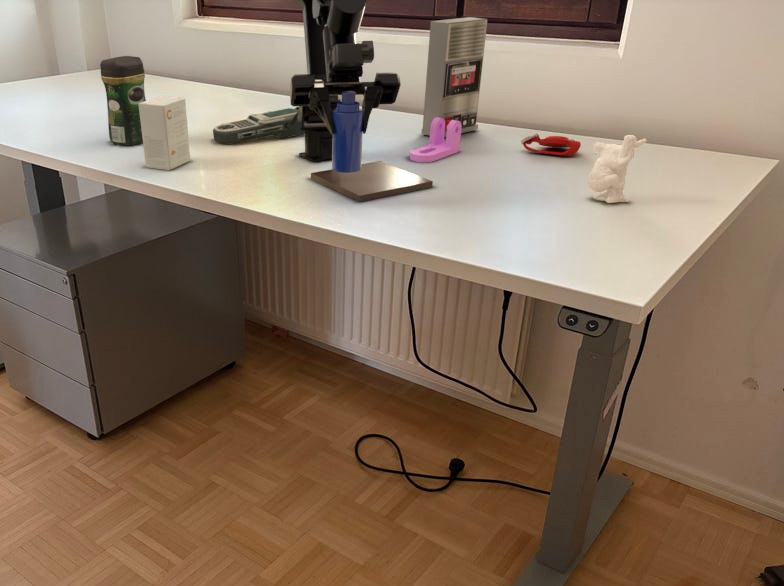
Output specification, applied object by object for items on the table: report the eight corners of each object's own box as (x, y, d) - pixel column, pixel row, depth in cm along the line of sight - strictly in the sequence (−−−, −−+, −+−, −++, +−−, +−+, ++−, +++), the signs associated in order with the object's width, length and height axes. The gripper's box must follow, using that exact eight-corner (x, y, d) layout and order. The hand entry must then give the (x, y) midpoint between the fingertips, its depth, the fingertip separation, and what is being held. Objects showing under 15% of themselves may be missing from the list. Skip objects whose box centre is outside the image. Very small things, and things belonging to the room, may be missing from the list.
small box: (166, 157, 161) (160, 95, 155) (191, 161, 159) (186, 97, 153) (144, 167, 155) (137, 102, 148) (170, 170, 153) (164, 105, 146)
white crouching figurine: (638, 200, 135) (653, 133, 129) (623, 210, 131) (639, 140, 125) (592, 191, 140) (605, 126, 134) (577, 200, 135) (590, 133, 129)
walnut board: (310, 179, 147) (310, 173, 147) (379, 166, 155) (380, 160, 154) (359, 202, 135) (359, 195, 134) (432, 187, 142) (432, 181, 142)
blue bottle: (326, 167, 132) (327, 91, 126) (350, 162, 135) (352, 87, 128) (342, 174, 129) (344, 96, 122) (366, 170, 131) (370, 93, 124)
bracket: (437, 147, 168) (440, 115, 165) (459, 151, 165) (462, 119, 162) (404, 159, 160) (406, 126, 156) (426, 163, 157) (429, 130, 153)
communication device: (204, 137, 178) (201, 99, 173) (293, 125, 187) (292, 89, 183) (223, 148, 168) (220, 108, 164) (316, 135, 178) (315, 97, 173)
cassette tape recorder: (440, 139, 175) (450, 23, 162) (421, 134, 179) (429, 21, 166) (478, 130, 182) (491, 19, 170) (459, 126, 186) (470, 17, 174)
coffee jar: (134, 134, 180) (125, 52, 170) (157, 139, 175) (149, 55, 166) (103, 143, 173) (92, 57, 163) (127, 148, 169) (116, 61, 159)
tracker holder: (556, 139, 170) (591, 137, 161) (553, 159, 171) (588, 158, 162) (517, 132, 164) (551, 130, 155) (514, 153, 165) (548, 151, 156)
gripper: (290, 23, 122) (297, 106, 118) (401, 21, 124) (412, 104, 120) (287, 65, 133) (293, 143, 129) (389, 63, 135) (398, 140, 131)
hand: (348, 132), depth 127 cm, fingers closed on blue bottle, 5 cm apart
